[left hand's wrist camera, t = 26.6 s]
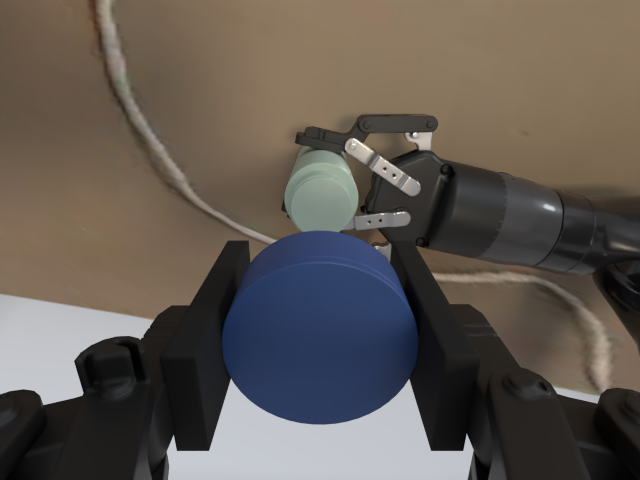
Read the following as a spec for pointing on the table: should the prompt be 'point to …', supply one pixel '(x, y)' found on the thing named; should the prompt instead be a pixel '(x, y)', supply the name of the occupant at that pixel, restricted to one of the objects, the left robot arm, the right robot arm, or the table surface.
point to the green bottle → (321, 191)
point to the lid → (320, 329)
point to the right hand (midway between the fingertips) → (290, 171)
